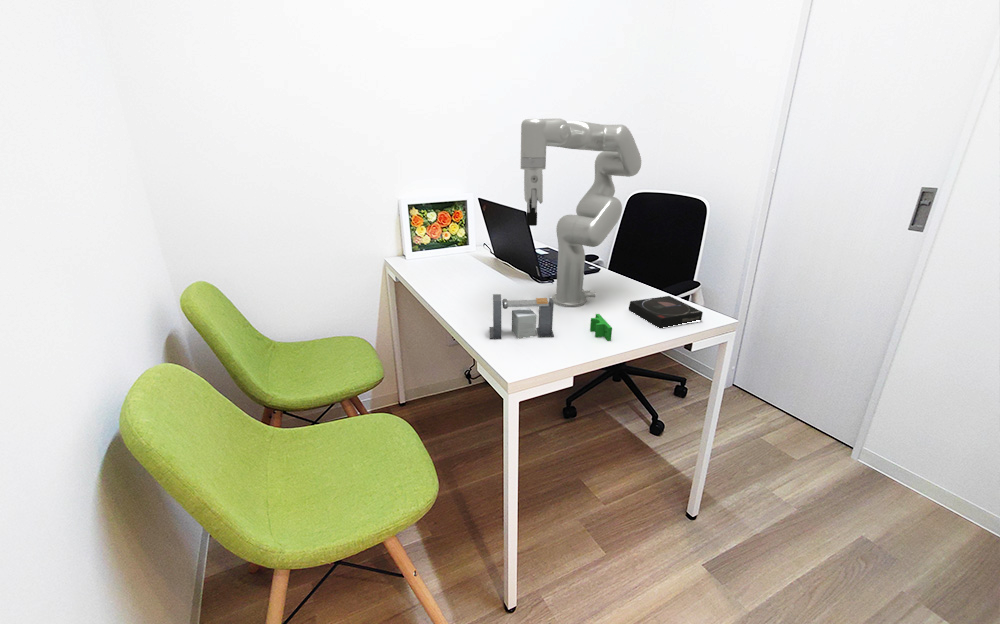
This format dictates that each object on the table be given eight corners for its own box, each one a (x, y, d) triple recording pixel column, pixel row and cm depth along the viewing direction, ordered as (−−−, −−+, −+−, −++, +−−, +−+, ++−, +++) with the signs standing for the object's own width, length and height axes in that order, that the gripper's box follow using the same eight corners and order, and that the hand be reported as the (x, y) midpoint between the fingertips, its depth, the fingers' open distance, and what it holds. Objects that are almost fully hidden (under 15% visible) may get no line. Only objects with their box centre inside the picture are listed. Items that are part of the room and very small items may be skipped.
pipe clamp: (586, 327, 143) (587, 314, 142) (597, 326, 144) (599, 313, 142) (599, 342, 133) (600, 328, 131) (610, 341, 133) (612, 327, 132)
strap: (546, 302, 137) (547, 297, 136) (548, 308, 133) (548, 302, 132) (502, 303, 137) (502, 298, 136) (502, 308, 133) (502, 303, 132)
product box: (511, 331, 140) (511, 309, 137) (529, 328, 142) (529, 307, 139) (517, 339, 135) (518, 316, 132) (536, 336, 136) (537, 314, 134)
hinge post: (500, 328, 142) (500, 293, 137) (501, 339, 134) (501, 302, 130) (489, 328, 142) (489, 293, 137) (489, 339, 134) (489, 302, 130)
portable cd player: (666, 305, 162) (668, 295, 160) (700, 323, 147) (702, 312, 145) (628, 311, 157) (629, 300, 155) (659, 330, 142) (661, 318, 140)
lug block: (551, 329, 141) (552, 296, 137) (553, 337, 136) (555, 303, 132) (536, 329, 141) (537, 296, 137) (538, 337, 136) (539, 303, 132)
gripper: (548, 165, 126) (546, 229, 133) (542, 162, 140) (540, 220, 147) (522, 165, 126) (521, 230, 133) (518, 162, 140) (518, 220, 146)
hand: (531, 225), depth 140 cm, fingers closed
